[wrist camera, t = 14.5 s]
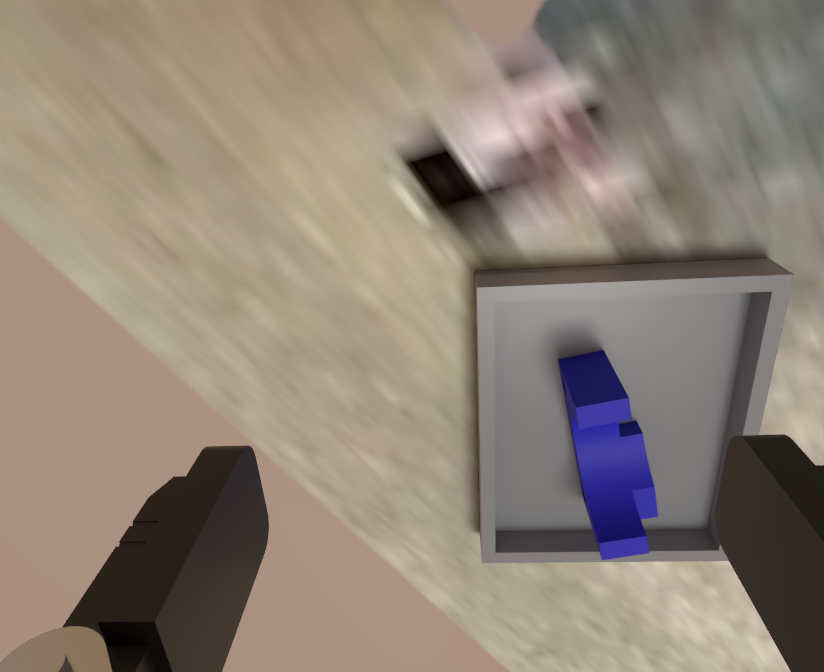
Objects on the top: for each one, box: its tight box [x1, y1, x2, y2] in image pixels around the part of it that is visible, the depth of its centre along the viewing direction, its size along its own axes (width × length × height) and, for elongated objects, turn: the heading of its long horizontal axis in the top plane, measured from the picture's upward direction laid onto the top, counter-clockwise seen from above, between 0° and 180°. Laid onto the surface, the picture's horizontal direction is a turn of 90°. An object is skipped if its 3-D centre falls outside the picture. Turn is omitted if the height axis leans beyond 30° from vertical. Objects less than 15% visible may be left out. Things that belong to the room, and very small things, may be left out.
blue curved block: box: [558, 350, 658, 560], centre depth 39 cm, size 12×4×6 cm, turn 15°
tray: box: [475, 258, 794, 563], centre depth 41 cm, size 18×22×3 cm
